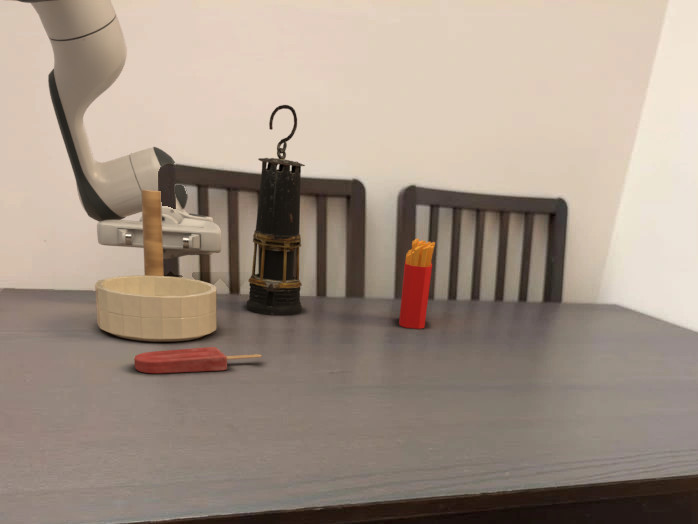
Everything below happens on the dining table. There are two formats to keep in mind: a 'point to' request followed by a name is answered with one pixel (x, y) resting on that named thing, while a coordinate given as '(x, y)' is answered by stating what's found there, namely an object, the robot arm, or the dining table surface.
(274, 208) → the lantern
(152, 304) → the bowl
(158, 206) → the stirring stick
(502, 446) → the dining table surface
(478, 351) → the dining table surface
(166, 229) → the robot arm
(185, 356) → the popsicle
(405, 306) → the french fries
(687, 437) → the dining table surface
